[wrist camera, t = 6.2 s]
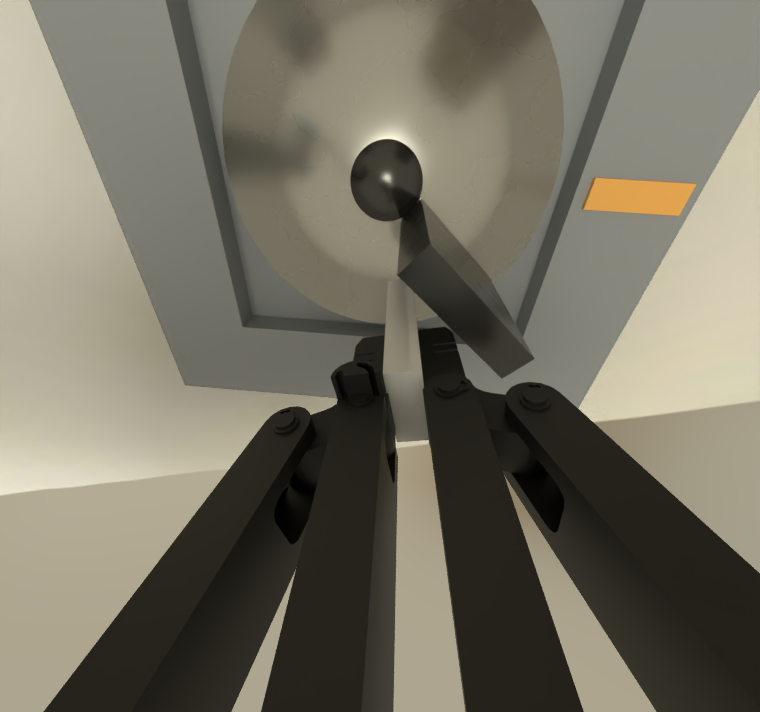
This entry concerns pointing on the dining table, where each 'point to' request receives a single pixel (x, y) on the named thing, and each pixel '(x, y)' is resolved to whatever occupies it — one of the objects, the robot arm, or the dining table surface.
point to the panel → (516, 286)
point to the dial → (396, 153)
